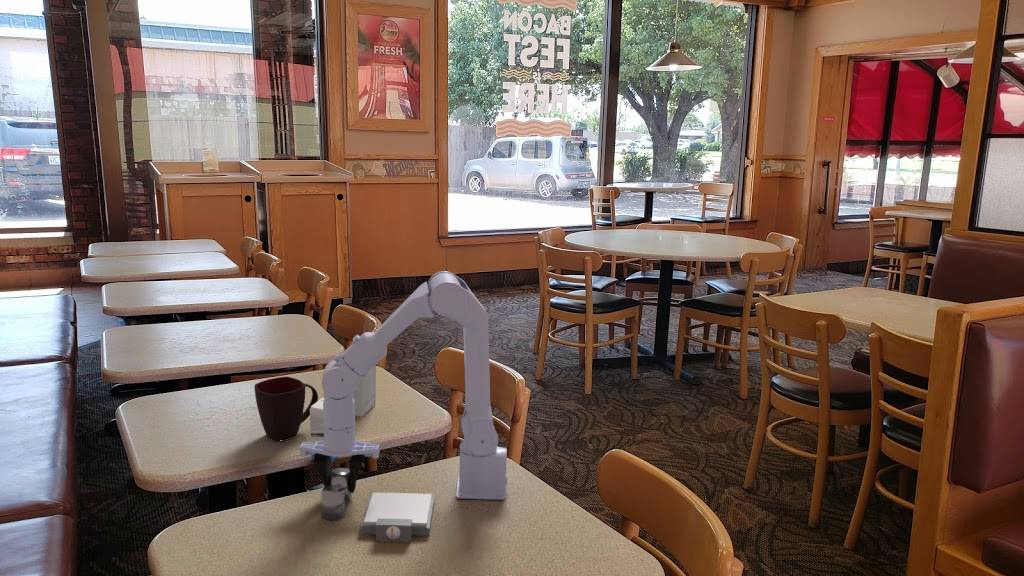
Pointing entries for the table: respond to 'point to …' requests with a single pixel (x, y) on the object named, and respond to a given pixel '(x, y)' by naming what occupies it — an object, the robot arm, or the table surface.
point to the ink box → (317, 423)
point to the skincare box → (365, 393)
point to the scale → (398, 516)
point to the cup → (282, 406)
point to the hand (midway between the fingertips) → (340, 489)
